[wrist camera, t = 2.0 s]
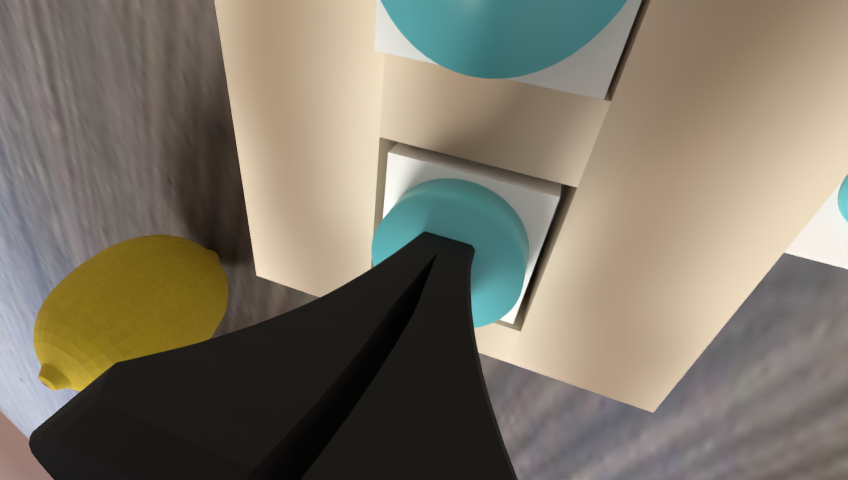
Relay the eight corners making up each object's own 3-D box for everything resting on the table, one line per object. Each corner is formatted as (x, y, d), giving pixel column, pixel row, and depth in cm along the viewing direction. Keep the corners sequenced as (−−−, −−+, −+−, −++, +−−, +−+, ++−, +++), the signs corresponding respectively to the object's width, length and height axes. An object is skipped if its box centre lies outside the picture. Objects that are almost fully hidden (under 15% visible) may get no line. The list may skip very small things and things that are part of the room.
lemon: (150, 198, 19) (-61, 309, 13) (245, 211, 18) (58, 344, 12) (190, 288, 22) (35, 413, 16) (275, 306, 21) (140, 454, 14)
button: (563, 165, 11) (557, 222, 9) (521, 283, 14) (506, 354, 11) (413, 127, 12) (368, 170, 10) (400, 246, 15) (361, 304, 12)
